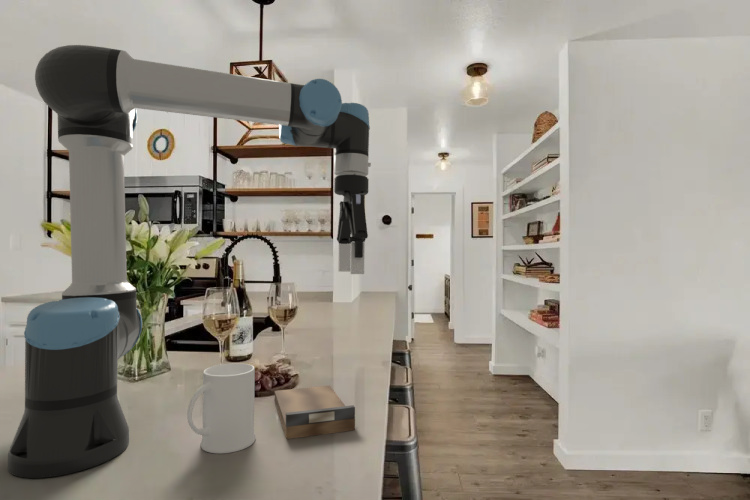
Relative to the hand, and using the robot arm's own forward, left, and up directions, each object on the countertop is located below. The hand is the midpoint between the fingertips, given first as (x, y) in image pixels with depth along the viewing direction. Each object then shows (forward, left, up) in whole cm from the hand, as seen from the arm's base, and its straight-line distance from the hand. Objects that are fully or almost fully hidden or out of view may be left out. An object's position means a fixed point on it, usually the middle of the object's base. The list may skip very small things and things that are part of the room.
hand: (350, 272), depth 93 cm
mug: (-26, -17, -27) cm, 41 cm away
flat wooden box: (-10, -8, -27) cm, 30 cm away
